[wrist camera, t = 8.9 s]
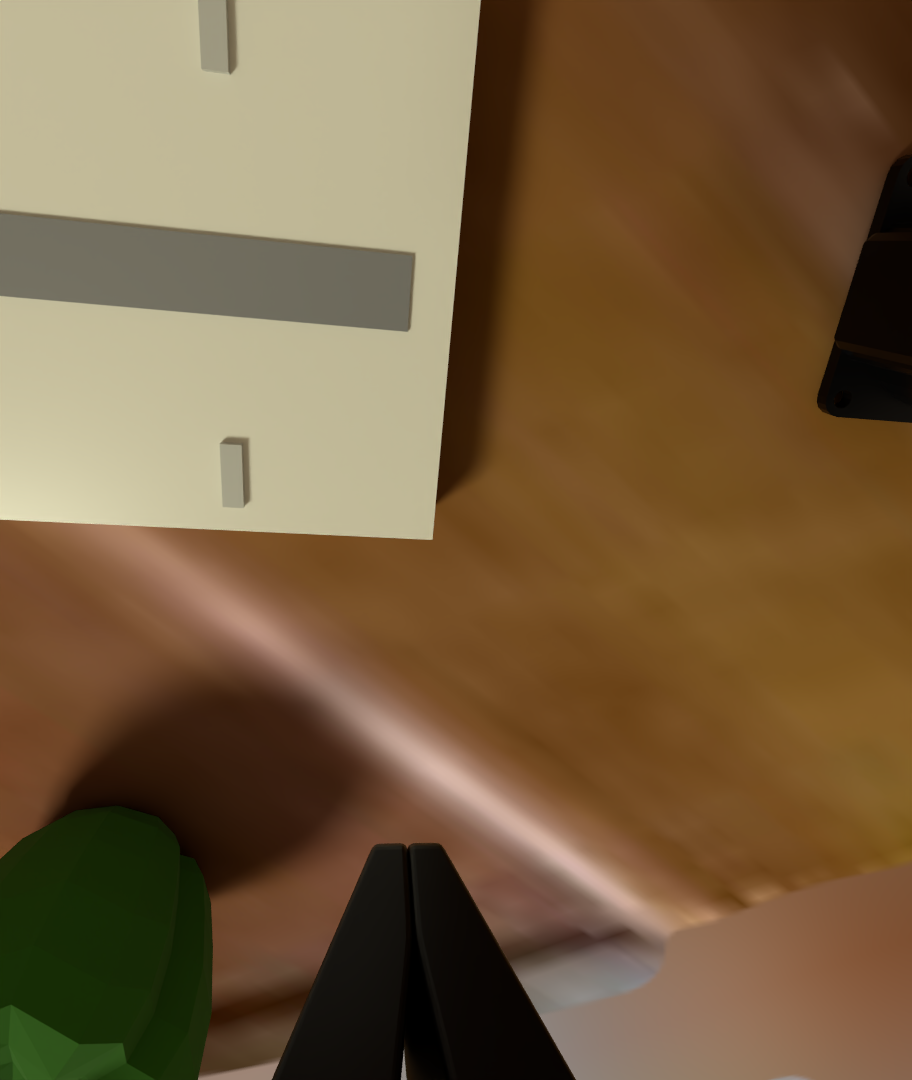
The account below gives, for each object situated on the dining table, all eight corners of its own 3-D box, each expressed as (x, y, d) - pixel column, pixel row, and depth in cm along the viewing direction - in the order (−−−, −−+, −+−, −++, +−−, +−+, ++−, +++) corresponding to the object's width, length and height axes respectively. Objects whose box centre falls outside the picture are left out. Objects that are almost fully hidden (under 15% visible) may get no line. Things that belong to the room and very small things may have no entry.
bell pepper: (-65, 817, 22) (-380, 1223, 13) (163, 739, 22) (3, 1101, 13) (77, 964, 26) (-92, 1363, 16) (275, 899, 25) (214, 1271, 16)
